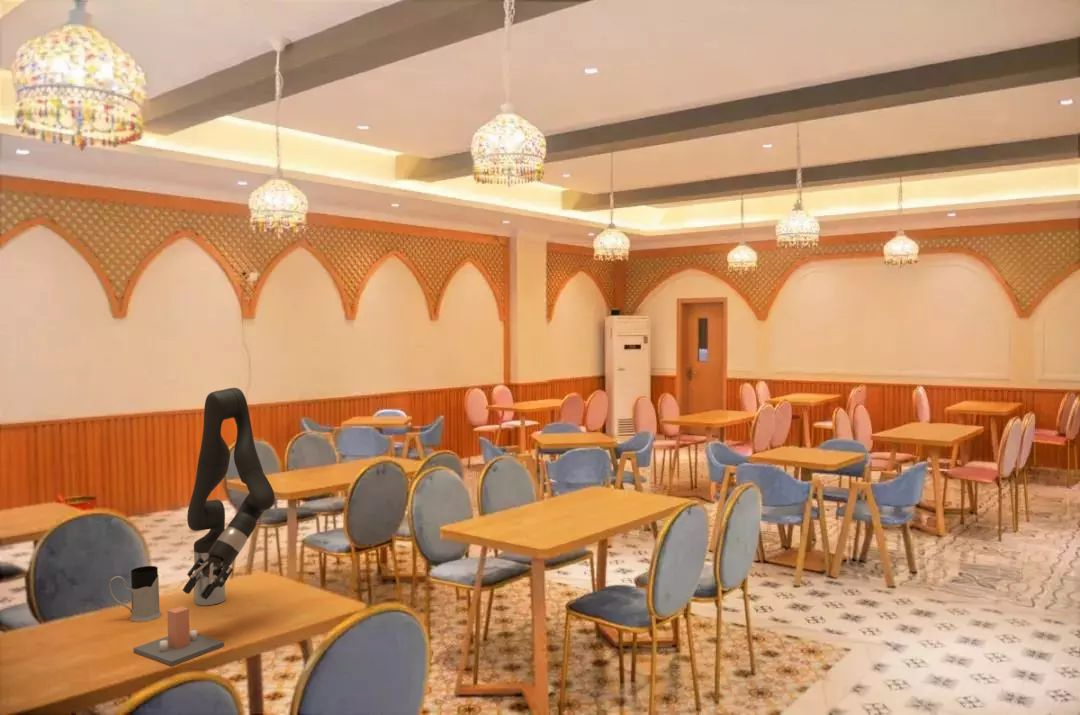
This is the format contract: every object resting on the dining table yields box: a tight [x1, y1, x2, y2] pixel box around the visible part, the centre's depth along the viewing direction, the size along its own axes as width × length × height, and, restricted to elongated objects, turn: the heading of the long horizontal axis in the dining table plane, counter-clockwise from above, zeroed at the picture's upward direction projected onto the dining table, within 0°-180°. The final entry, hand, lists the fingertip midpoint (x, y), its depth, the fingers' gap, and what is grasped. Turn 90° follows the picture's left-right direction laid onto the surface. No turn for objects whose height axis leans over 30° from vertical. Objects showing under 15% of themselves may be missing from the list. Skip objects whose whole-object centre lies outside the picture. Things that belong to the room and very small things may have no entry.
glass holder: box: [109, 565, 162, 623], centre depth 257 cm, size 9×14×15 cm, turn 112°
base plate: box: [132, 629, 225, 667], centre depth 231 cm, size 18×16×4 cm
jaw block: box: [166, 606, 190, 649], centre depth 231 cm, size 4×4×10 cm
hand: (194, 595), depth 235 cm, fingers open, 8 cm apart
